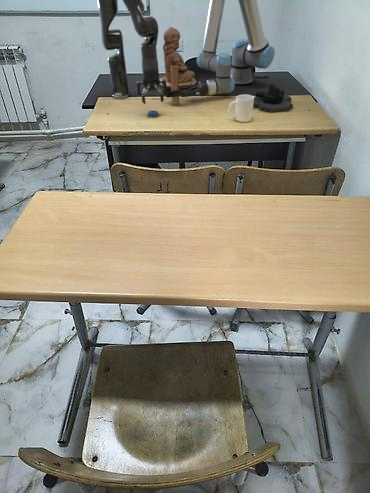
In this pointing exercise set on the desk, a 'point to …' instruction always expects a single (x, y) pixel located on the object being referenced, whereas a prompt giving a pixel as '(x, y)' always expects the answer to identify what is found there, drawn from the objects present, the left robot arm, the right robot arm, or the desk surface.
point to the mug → (242, 108)
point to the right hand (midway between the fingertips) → (165, 93)
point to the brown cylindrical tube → (174, 83)
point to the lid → (153, 113)
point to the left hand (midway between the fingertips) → (153, 102)
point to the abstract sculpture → (272, 100)
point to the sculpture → (175, 59)
